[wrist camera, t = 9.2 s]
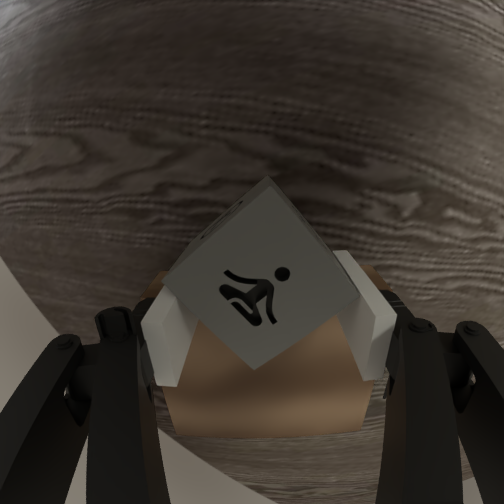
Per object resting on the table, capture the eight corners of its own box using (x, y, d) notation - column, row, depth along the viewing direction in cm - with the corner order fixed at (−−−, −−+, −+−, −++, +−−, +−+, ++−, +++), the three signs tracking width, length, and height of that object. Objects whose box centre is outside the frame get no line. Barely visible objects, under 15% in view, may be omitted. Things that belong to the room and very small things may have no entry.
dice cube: (190, 241, 16) (161, 281, 11) (267, 174, 14) (270, 185, 10) (256, 310, 17) (254, 370, 12) (332, 252, 15) (360, 296, 11)
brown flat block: (160, 271, 20) (140, 297, 17) (370, 264, 20) (392, 290, 16) (185, 400, 24) (176, 434, 20) (350, 395, 24) (360, 429, 20)
